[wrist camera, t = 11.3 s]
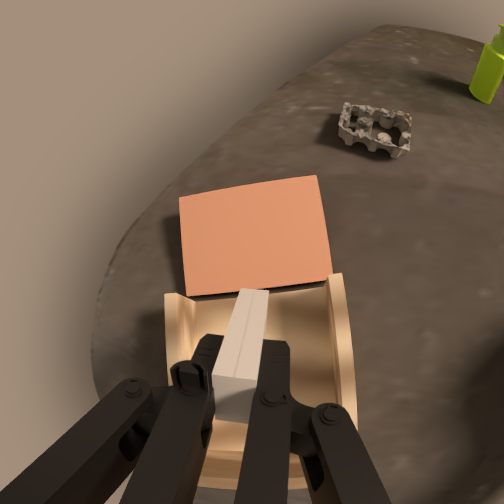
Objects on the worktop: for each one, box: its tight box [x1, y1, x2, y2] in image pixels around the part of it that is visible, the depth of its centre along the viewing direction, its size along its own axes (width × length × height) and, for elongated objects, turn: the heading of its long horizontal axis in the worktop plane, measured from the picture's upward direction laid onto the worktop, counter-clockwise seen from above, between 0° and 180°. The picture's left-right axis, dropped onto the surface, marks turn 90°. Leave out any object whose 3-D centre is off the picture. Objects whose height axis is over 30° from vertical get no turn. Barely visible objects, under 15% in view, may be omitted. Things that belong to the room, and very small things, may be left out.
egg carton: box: [338, 102, 411, 159], centre depth 33 cm, size 11×8×4 cm
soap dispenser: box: [469, 23, 504, 104], centre depth 25 cm, size 6×7×20 cm
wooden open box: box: [165, 273, 358, 489], centre depth 23 cm, size 18×16×9 cm
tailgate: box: [179, 175, 333, 296], centre depth 30 cm, size 1×16×12 cm
